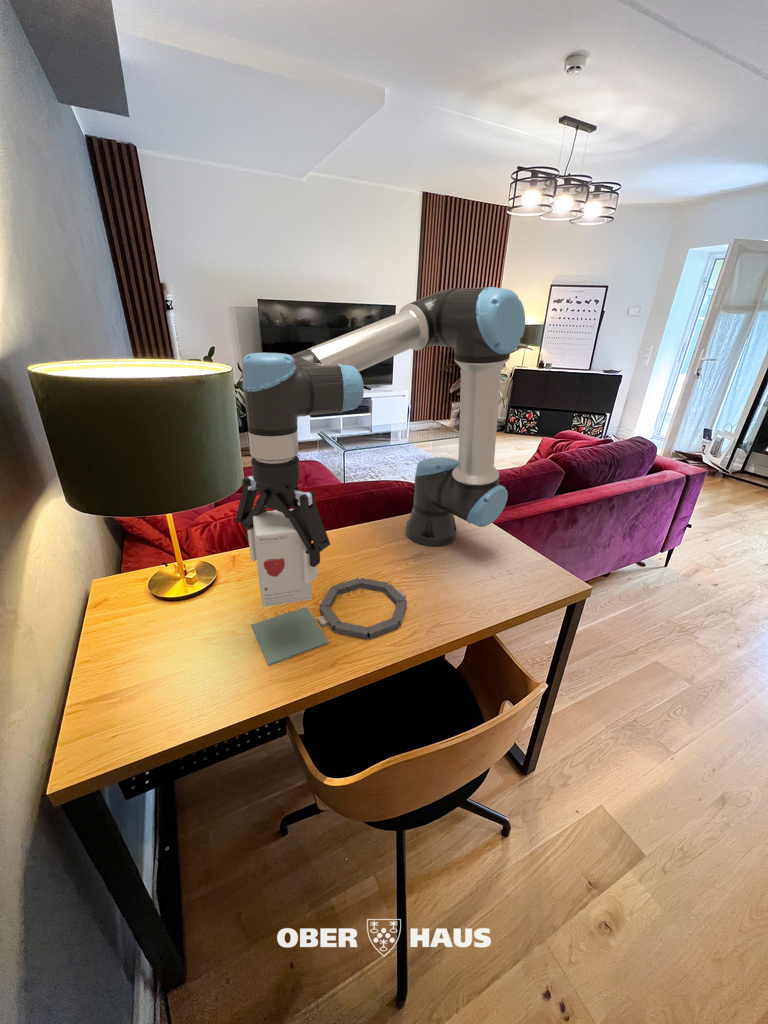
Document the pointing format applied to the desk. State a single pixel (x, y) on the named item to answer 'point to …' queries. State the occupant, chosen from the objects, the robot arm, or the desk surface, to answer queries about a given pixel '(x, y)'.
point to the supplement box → (279, 560)
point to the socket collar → (357, 630)
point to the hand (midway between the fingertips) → (283, 568)
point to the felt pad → (288, 635)
